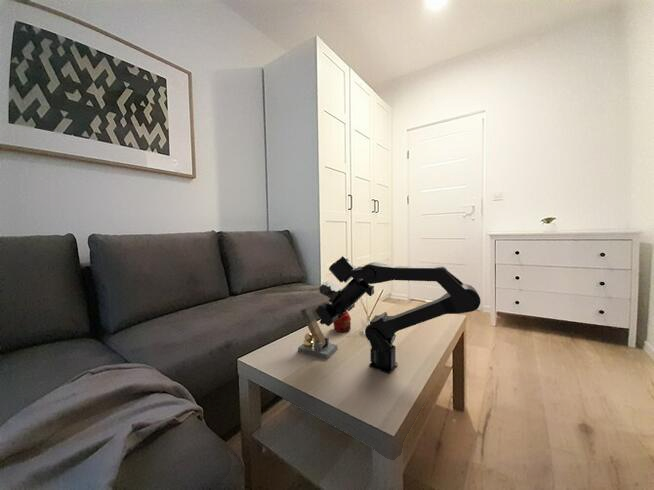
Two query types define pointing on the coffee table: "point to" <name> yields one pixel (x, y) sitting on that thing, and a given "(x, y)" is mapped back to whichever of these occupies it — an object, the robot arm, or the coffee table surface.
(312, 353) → the base
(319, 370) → the coffee table surface
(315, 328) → the lever
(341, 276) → the robot arm
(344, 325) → the decorative doll
